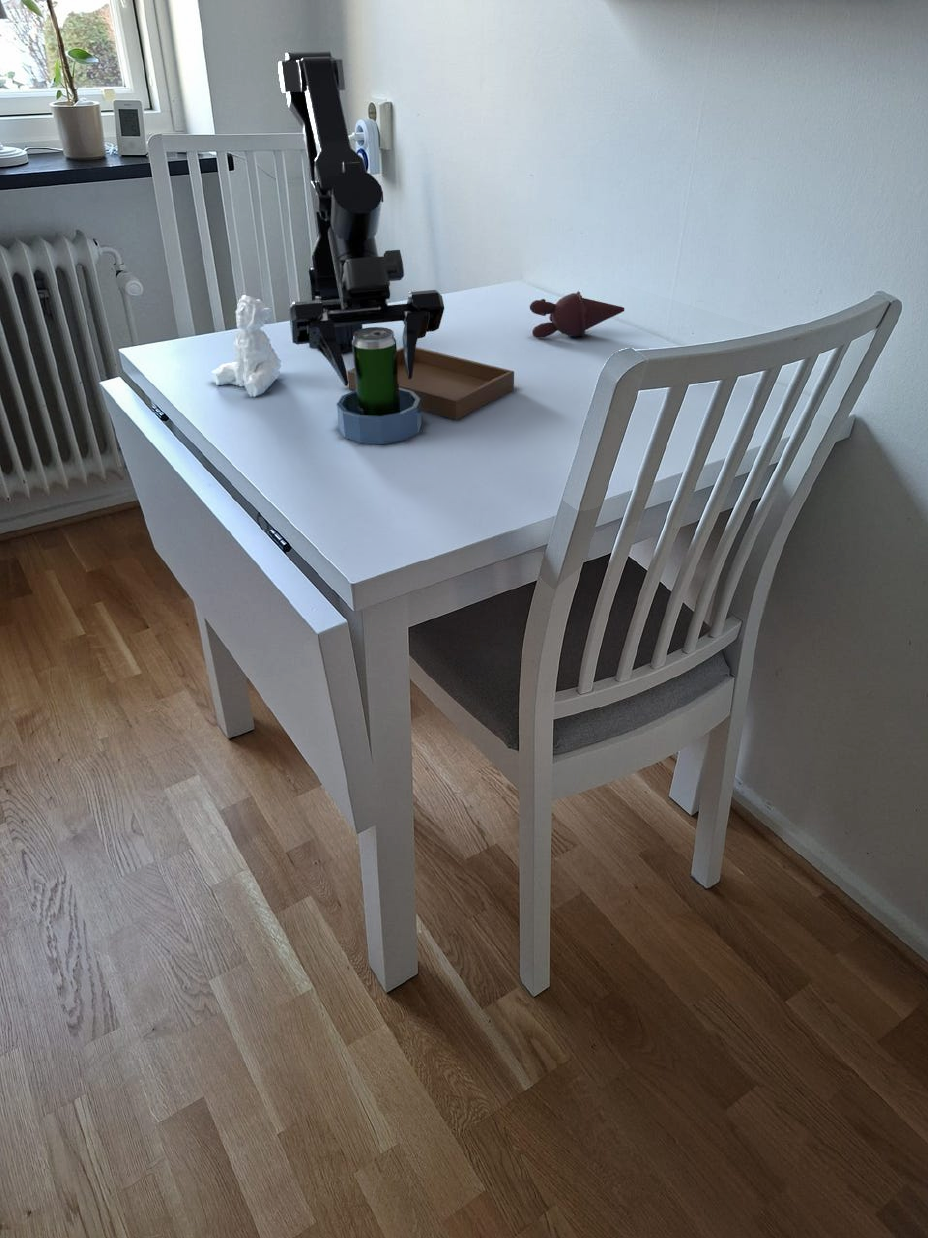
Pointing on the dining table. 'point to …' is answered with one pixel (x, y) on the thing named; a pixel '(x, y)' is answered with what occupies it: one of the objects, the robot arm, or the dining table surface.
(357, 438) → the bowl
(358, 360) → the beer can
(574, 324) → the icecream
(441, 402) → the tray
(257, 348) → the white creature statuette
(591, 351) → the dining table surface
